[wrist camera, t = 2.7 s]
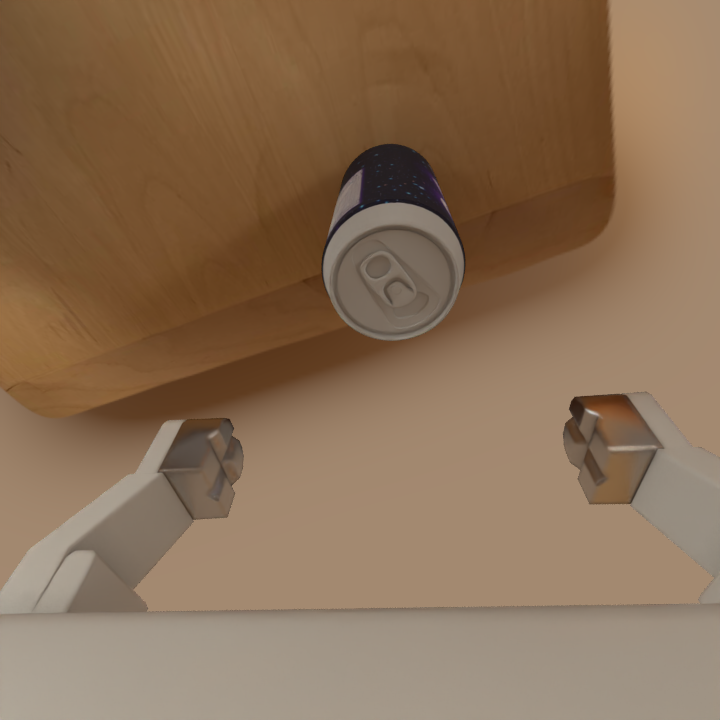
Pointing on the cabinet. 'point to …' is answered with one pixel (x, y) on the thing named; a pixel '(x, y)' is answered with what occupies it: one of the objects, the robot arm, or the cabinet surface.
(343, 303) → the beverage can
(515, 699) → the robot arm
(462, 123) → the cabinet surface
